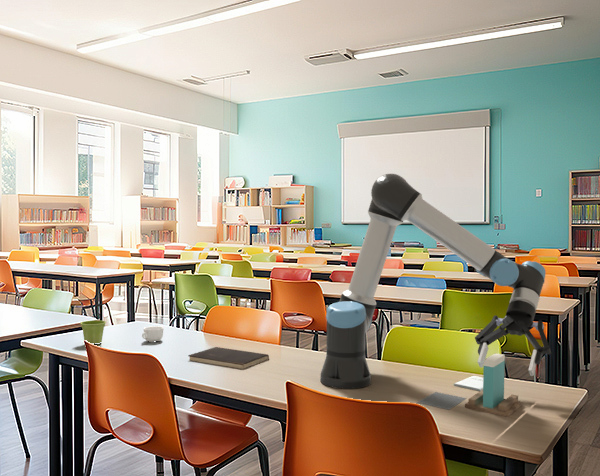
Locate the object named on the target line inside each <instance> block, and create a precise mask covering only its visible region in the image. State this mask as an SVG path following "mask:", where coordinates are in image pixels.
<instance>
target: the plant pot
mask: <svg viewBox="0 0 600 476" xmlns="http://www.w3.org/2000/svg"><path fill="white" fill-rule="evenodd" d="M106 323H107V321H105V320H99V319H96V320H85V321H81V322H80V326H81V328H82V333H83V340H87V341H88V342H90V343H94V344H95V343H100V342H102V341H103V335H104V328H105V325H106Z"/></svg>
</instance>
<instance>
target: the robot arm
mask: <svg viewBox="0 0 600 476" xmlns="http://www.w3.org/2000/svg"><path fill="white" fill-rule="evenodd" d="M370 190H371V192H370V195H371V201H370V203H369V204H370V205H369V207H368V209H367V214H368V215H369V218H370V220H369V222H368V223H369V224H368V226H367V228H366V232H365V236H364V239H363V242H362V244H361V248H360V251H359V254H358V257H357V261H356V263H355V267H354V270H353V274H352V276H351V279H350V283H349V284H348V285H349V286H348V288H347V289H345V290H344V291H342V292H341V296H340V299H339V301H337V302H334V303H332V304H329V306H328V307H327V308H326V309H327V310H326V315H325V318H326V357H325V358H324V359H325V360H324V362H323V365H322V368H321V371H320V377H319V378H320V383H321V384H323V385H325V386H327V387H330V388H336V389H347V390H348V389H352V390H353V389H359V388H361V389H362V388H364V387H368V386H369V385H371V381H372V379H371V378H372V374H371V372H370V369H369V365H368V361H367V359H366V334H367V332H368V331H369V330H370V328H371V326H372V322H373V316H374V314H375V310H376V307H377V302H376V299H375V293H376V291H377V288H378V284H379V282H380V280H381V276H382V273H383V271H384V266H385V264H386V260H387V257H388V254H389V251H390V248H391V244H392V241H393V239H394V235H395V232H396V229H397V227H398V226H400V225H402V224H403V223H404V222H405V221H407V222H409V223H411V224H412V225H413V226H414V227H416V228H417V229H419V230H420V231H422V232H423V233H424V234H426V235H427V236H429V237H430V238H431V239H432V240H435V242H437V243H439V244H440V245H441V246H443V247H445V248H446V249H447V250H449V251H450V252H452V253H453V254H454V255H456V256H457V257H458V258H460V259H461V260H463V261H465V262H466V263H467V264H468V265H470V266H471V267H472V268H474V269H475V270H476V273H478V274H479V275H482V276H483V277H485V278H488V279H489V280H491V281H492V282H493V283H494V284H496V285H497V286H499V287H509V288H512V289H513V290H512V294H511V297H510V300H509V304H508V306H507V310H506V312H505V316H504V317H503V318H501V317H499V316H498V315H494V316H492V319H491V321H490V322H489V323H488V324H487V325H486V326H485V327H484V328H483V329H482V330H480V332H478V334H476V336H474V339H475V342H476V344H477V345H479V346H478V349H477V353H478V355H479V356H478V359H477V363H478V364H477V365H478V366H479V368H483V367H484V359H486V358H487V354H488V351H489V345H491V344H493V343H494V342H495V341H497V340H499V339H500V338H502V337H503V336H507V335H512V336H513V335H514V336H516V335H517V336H520V337H522V336H523V335H524V336H525V337H526V339H527V340H528V342H529V343H530V344H531V345H532V347H533V348H534V349H533V350H532V354H531V358H530V363H529V367H528V373H529V376H531V377H534V375H535V372H536V367H537V365H541V362H542V359H543V356H544V355H546V354H547V355H551V354H552V352H551V348H550V345H549V342H548V339H547V337H546V335H545V325H544V323H543V320H541V319H540V320H538V321H534V320H535V316H536V311H537V308H538V305H539V301H540V296H541V293H542V290H543V287H544V284H545V280H546V275H547V274H546V269H545V267H544V266H543V265H542V264H541V263H539V262H537V261H531V260H526V261H523V262H522V264H521V263H517V262H515V261H513V260H512V259H510V258H507V257H506V256H505V255H503V254H502V253H500V252H499V251H497V250H496V249H495V248H493V247H492V246H491V245H489V244H488V243H486V242H485V241H483V240H482V239H480V238H479V237H478V236H476V235H475V234H473V233H472V232H471V231H469V230H468V229H466V228H465V227H464V226H462V225H460V224H459V223H458V222H456V221H455V220H453V219H452V218H451V217H449V216H447V215H446V214H445V213H443V212H442V211H441V210H439V209H438V208H436V207H435V206H433V205H432V204H430V203H429V202H427V201H426V200H424V198H423V196H422V195H423V194H422V193H420V192H419V191H418V190H416V189H415V188H414V187H413V186H411V184H409V183H408V181H407V180H406V179H405V178H404V177H403V176H401V175H399V174H396V173H385V174H382V175H381V176H379V177H377V178H376V180H375V181H374V183H373V184H372V185H371V189H370ZM533 328H534V329H535V330H536V331H538V334H539V337H540V339H541V342H542V345H543V346H542V345H540V343H539V342H538V341H537V339H536V338H535V336H534V334H533V333H532V332H531V330H532V329H533Z"/></svg>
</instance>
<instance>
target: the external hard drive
mask: <svg viewBox="0 0 600 476" xmlns="http://www.w3.org/2000/svg"><path fill="white" fill-rule="evenodd" d="M453 387H458V388H459V387H460V388H464V389H467V390H472V391H476V392H480V391H481V390H483V377H482V376H478V375H472V376H470V377H467V378H464V379H462V380H460V381H457V382H455V383H453Z"/></svg>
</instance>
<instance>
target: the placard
mask: <svg viewBox="0 0 600 476" xmlns="http://www.w3.org/2000/svg"><path fill="white" fill-rule="evenodd" d="M505 358H506V356H505V354H504V353H503V354H501V353H493V354H492V355H490V356H487V357H486V358H485V359H484V364H483V374H482V376H483V407H487V408H492V409H493V408H494V407H495V406H497V405H498V404H499V403H501V402H502V401H503V400H504V399H505Z"/></svg>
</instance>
